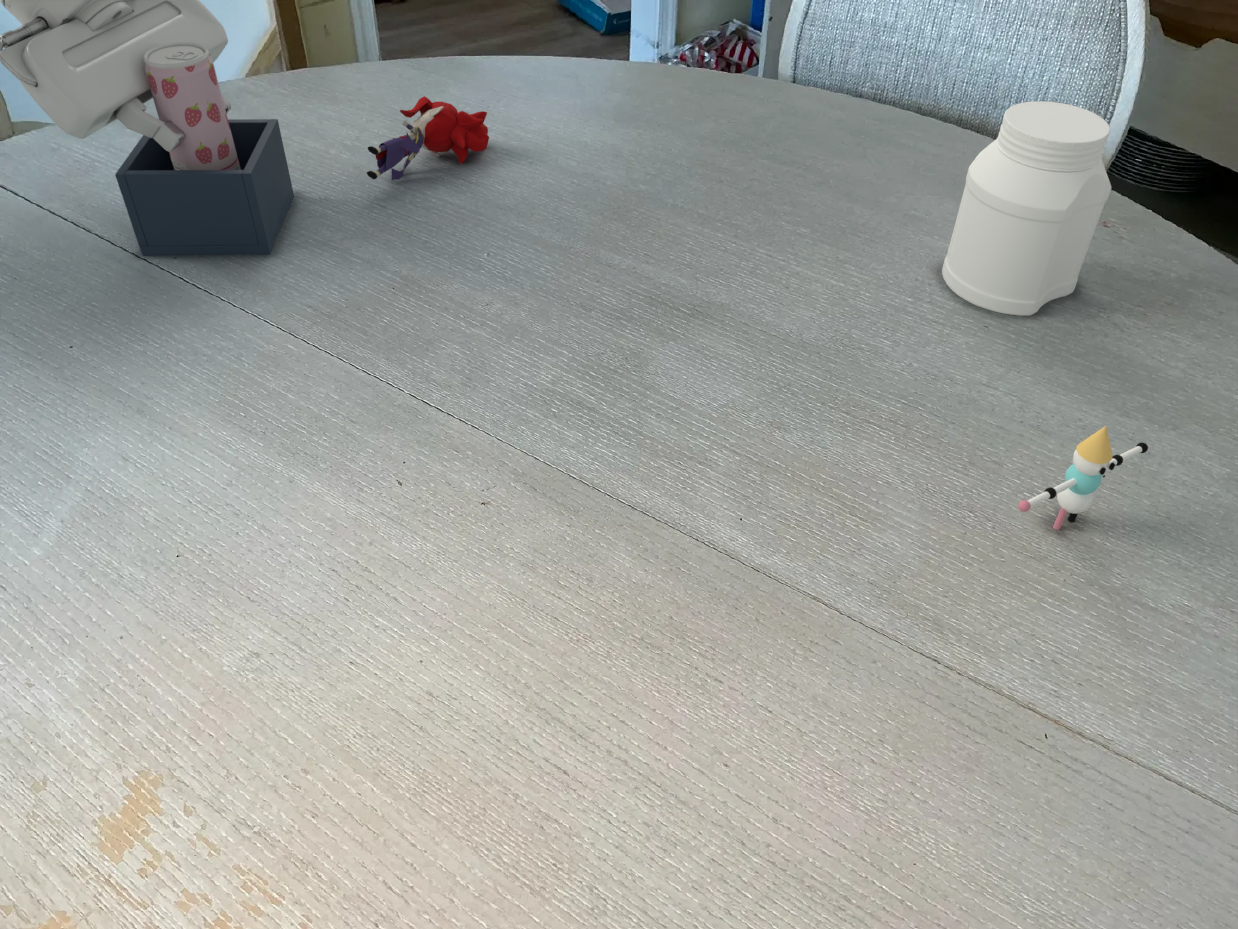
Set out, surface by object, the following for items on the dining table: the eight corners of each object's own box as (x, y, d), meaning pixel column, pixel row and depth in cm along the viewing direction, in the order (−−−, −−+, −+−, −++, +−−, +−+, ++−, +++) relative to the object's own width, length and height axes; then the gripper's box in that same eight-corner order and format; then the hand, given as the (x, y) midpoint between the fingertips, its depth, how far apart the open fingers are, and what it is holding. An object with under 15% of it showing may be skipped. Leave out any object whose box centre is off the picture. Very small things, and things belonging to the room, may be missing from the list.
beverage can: (251, 222, 95) (210, 61, 85) (187, 230, 94) (138, 67, 84) (250, 194, 99) (210, 38, 89) (189, 202, 98) (142, 44, 88)
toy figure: (1017, 569, 65) (1058, 469, 60) (988, 545, 67) (1025, 445, 61) (1139, 505, 70) (1187, 406, 64) (1109, 483, 72) (1154, 386, 66)
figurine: (347, 176, 104) (438, 127, 113) (411, 213, 102) (499, 160, 112) (347, 119, 99) (443, 73, 109) (415, 157, 97) (506, 107, 107)
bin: (142, 256, 93) (114, 174, 87) (177, 196, 101) (154, 119, 96) (270, 254, 93) (250, 173, 88) (294, 196, 102) (277, 118, 97)
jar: (1012, 326, 86) (1067, 160, 76) (923, 278, 92) (963, 118, 82) (1089, 284, 92) (1150, 123, 82) (1001, 241, 97) (1048, 86, 87)
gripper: (-6, 16, 77) (141, 157, 82) (162, -56, 92) (279, 67, 96) (-29, 68, 81) (112, 199, 85) (135, -9, 96) (249, 106, 100)
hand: (202, 128), depth 91 cm, fingers closed on beverage can, 5 cm apart
